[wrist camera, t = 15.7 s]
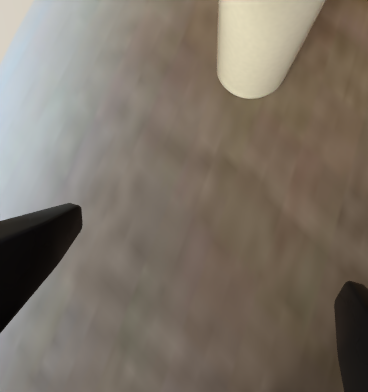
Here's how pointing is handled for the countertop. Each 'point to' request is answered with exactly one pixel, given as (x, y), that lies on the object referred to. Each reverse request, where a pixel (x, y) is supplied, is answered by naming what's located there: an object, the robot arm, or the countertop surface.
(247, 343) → the countertop surface
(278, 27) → the tall white cylinder
